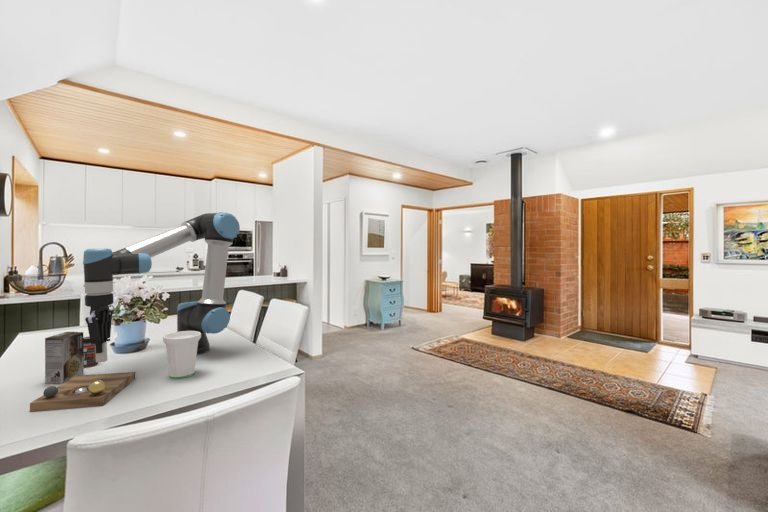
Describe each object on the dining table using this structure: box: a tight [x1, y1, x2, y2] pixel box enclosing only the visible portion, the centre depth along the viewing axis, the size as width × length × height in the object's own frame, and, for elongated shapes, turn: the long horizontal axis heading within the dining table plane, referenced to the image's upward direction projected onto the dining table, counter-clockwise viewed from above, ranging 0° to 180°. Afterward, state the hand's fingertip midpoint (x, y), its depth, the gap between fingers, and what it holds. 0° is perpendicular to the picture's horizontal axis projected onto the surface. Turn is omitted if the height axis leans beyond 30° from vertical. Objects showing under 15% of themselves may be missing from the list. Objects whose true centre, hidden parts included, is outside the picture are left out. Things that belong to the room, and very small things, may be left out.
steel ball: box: [74, 388, 88, 394], centre depth 108 cm, size 3×3×3 cm
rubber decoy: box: [43, 385, 58, 397], centre depth 103 cm, size 3×3×3 cm
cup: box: [162, 331, 201, 380], centre depth 129 cm, size 12×12×15 cm
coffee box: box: [44, 331, 85, 385], centre depth 123 cm, size 9×6×16 cm
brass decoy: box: [88, 380, 106, 395], centre depth 105 cm, size 4×4×4 cm
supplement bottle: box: [83, 335, 99, 368], centre depth 137 cm, size 6×6×11 cm
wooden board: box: [29, 371, 136, 412], centre depth 111 cm, size 22×18×2 cm
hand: (101, 361), depth 118 cm, fingers closed
